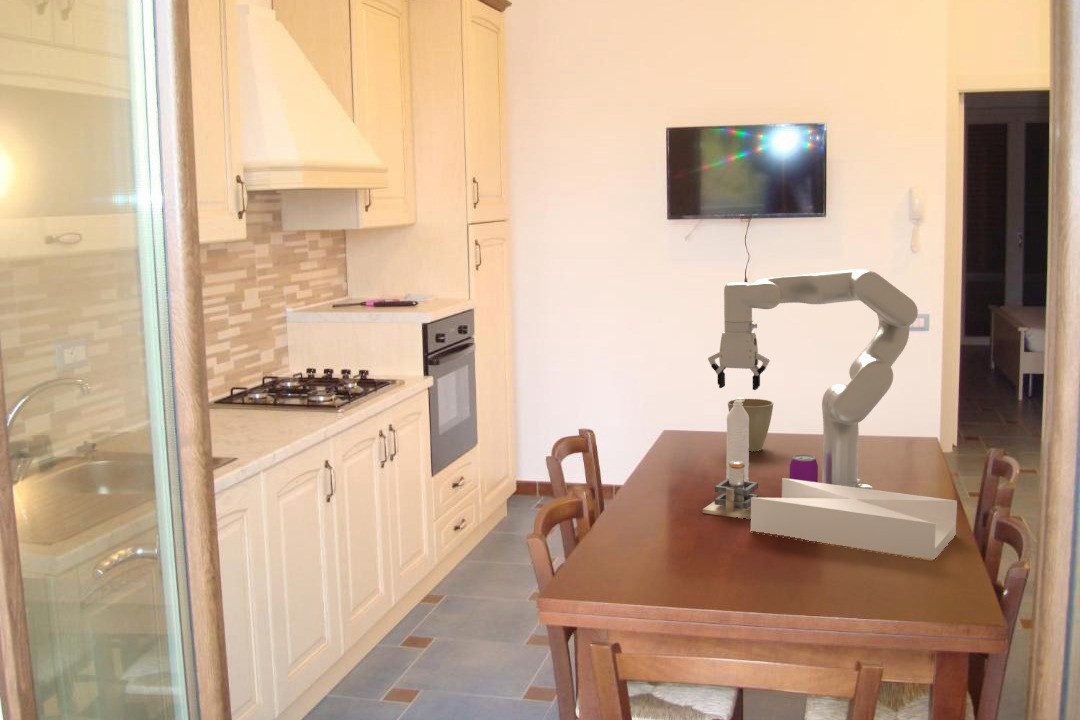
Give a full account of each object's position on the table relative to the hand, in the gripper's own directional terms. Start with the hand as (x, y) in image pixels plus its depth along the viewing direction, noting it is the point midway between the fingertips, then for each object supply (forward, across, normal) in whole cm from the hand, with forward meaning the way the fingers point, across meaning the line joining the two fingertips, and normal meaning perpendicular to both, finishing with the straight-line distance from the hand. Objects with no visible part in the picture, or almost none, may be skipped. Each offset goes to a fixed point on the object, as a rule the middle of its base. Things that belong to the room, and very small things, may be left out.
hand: (738, 388), depth 302 cm
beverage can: (+32, -17, -5) cm, 36 cm away
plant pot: (+32, +14, -56) cm, 66 cm away
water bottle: (+31, +5, -14) cm, 35 cm away
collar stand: (+31, -3, +12) cm, 34 cm away
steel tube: (+30, -3, +12) cm, 33 cm away
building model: (+32, -36, +21) cm, 52 cm away
